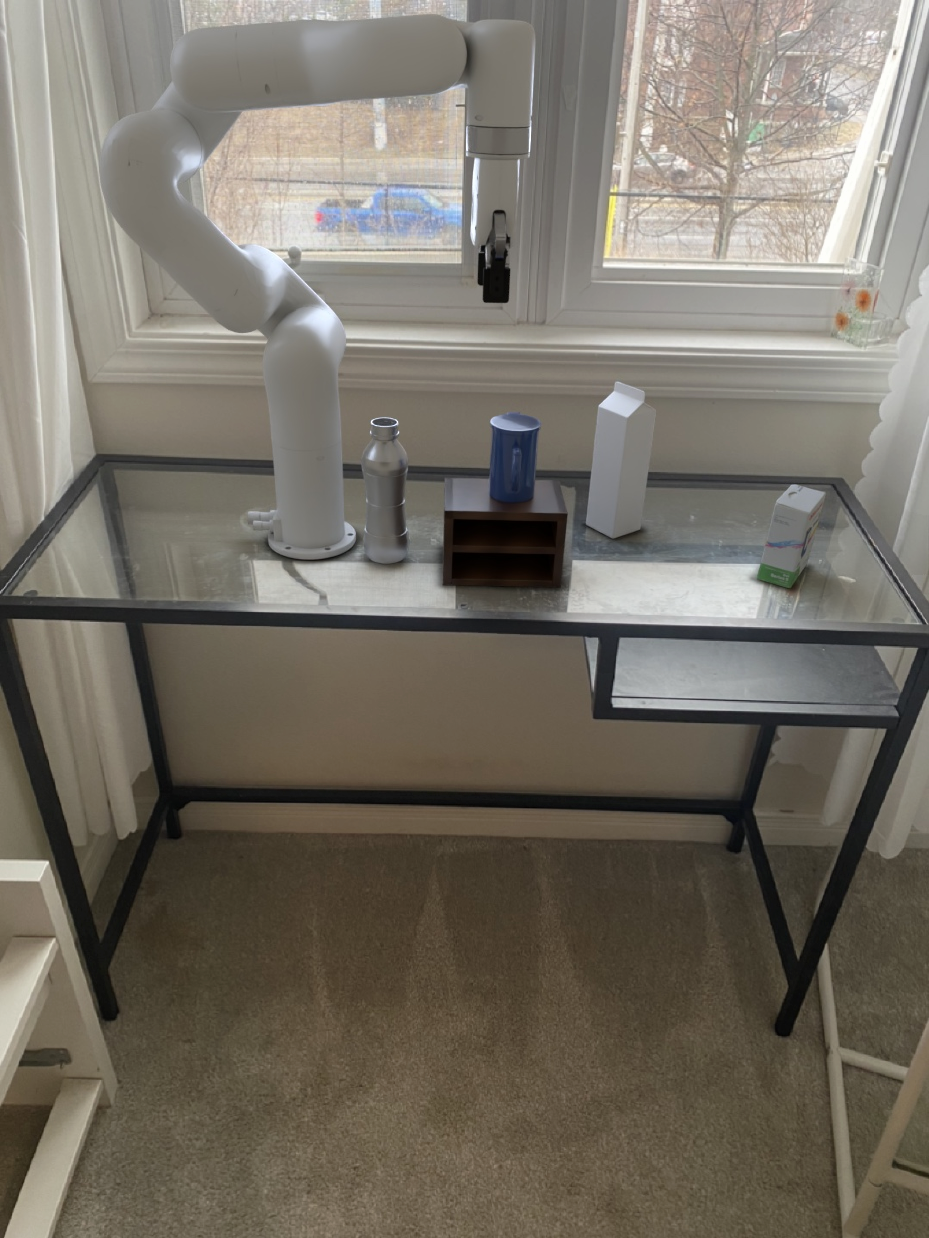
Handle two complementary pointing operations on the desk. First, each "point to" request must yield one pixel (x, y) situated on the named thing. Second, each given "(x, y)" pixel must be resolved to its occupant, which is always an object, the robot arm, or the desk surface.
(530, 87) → the robot arm
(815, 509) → the ink box
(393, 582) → the desk surface
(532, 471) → the jug
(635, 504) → the milk
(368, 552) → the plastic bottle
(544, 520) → the shelf
